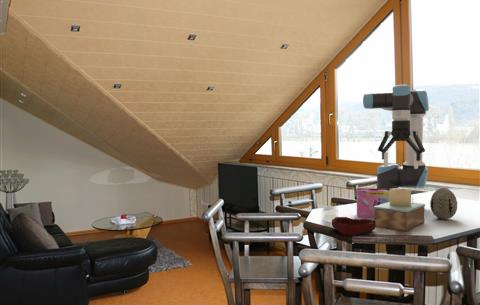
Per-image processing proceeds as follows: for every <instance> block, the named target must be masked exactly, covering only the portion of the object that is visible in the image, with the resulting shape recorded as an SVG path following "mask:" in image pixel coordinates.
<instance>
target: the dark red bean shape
mask: <svg viewBox="0 0 480 305" xmlns="http://www.w3.org/2000/svg"><path fill="white" fill-rule="evenodd" d="M331 227H332V228H333V229H334V230H337V231H338V232H339V233H341V234H342V235H344V236H346V237H353V236H357V235H359V236H360V235H361V234H362V235H363V234H368V233H372V232H374V230H375V229H376V228H377V227H376V222H375V219H371V218H370V219H369V218H362V219H361V218H359V219H358V218H356V219H355V218H351V217H347V216H335V217H334V218H332V219H331Z"/></svg>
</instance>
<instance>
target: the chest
mask: <svg viewBox="0 0 480 305" xmlns="http://www.w3.org/2000/svg"><path fill="white" fill-rule="evenodd" d="M374 220H375V222H376V227H375V228H378V227H379V229H384V228H385V229H386V230H393V231H397V232H398V231H399V232H406V233H408V232H409V231H411V230H413V229H415V228H418V227H419V226H422V225H423V224H425V206H423V207H420V208H418V209H415V210H412V211H410V212H400V211H393V213H387V212H386V210H383V209H375V218H374Z"/></svg>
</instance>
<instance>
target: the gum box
mask: <svg viewBox="0 0 480 305" xmlns="http://www.w3.org/2000/svg"><path fill="white" fill-rule="evenodd" d="M387 202H390V189H377V188H374V187H373V188H371V187H370V188H366V187H365V188H364V187H362V188H361V187H356V216H357V217H358V218H370V219H371V218H372V219H373V218H374V219H375V208H373V207H374V206H377V205H380V204H384V203H387Z"/></svg>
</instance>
